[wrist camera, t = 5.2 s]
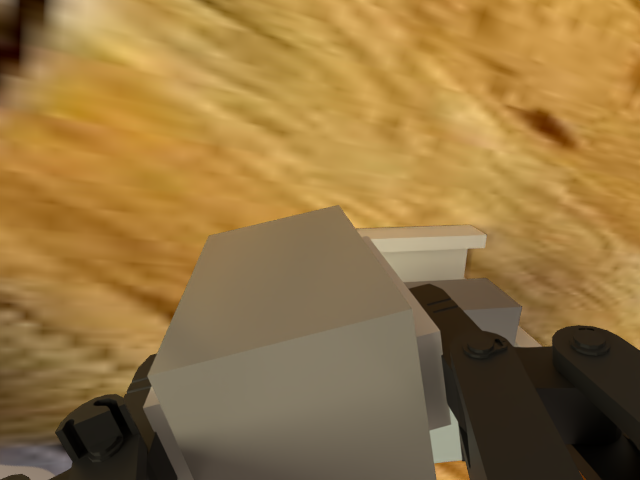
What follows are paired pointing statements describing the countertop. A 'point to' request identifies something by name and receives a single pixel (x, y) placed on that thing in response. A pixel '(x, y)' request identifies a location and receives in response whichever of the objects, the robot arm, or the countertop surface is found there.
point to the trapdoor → (489, 315)
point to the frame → (432, 255)
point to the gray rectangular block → (294, 359)
